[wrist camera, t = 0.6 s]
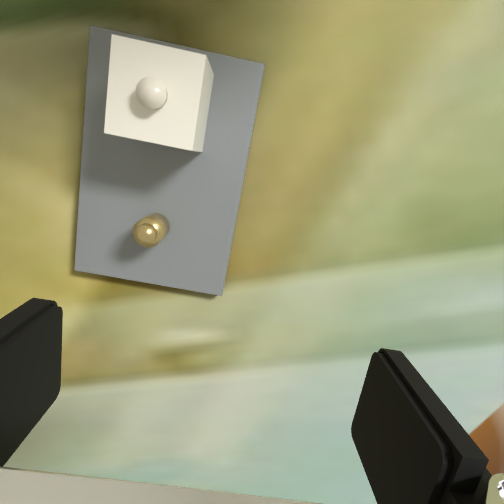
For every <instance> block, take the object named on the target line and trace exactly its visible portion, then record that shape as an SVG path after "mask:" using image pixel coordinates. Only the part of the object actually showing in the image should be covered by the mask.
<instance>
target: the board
mask: <svg viewBox="0 0 504 504" xmlns="http://www.w3.org/2000/svg"><path fill="white" fill-rule="evenodd" d="M112 34H113V35H118V36H123V37H127V38H132V39H136V40H141V41H145V42H150V43H154V44H159V45H163V46H168V47H172V48H177V49H181V50H186V51H191V52H195V53H200V54H204V55H206V56H207V58H208V61H209V63H210V66H211V68H212V71H213V73H214V78H213V85H212V91H211V98H210V104H209V111H208V118H207V124H206V131H205V137H204V144H203V151H202V152H197V151H190V150H185V149H180V148H175V147H171V146H166V145H161V144H156V143H151V142H146V141H141V140H136V139H131V138H126V137H121V136H116V135H111V134H106V133H104V126H105V113H106V100H107V87H108V75H109V62H110V49H111V36H112ZM264 67H265V64H263V63H259V62H254V61H250V60H245V59H240V58H236V57H231V56H227V55H222V54H218V53H213V52H209V51H204V50H200V49H195V48H191V47H186V46H182V45H177V44H173V43H168V42H164V41H159V40H155V39H150V38H146V37H141V36H137V35H132V34H128V33H123V32H119V31H114V30H109V29H105V28H100V27H96V26H91V25H90V32H89V48H88V64H87V79H86V95H85V111H84V127H83V142H82V158H81V174H80V190H79V205H78V221H77V237H76V253H75V268H74V270H76V271H82V272H87V273H93V274H99V275H105V276H110V277H116V278H122V279H127V280H133V281H139V282H145V283H150V284H156V285H162V286H168V287H173V288H179V289H185V290H190V291H196V292H202V293H208V294H213V295H219V296H222V294H223V288H224V283H225V278H226V272H227V267H228V261H229V256H230V251H231V245H232V240H233V234H234V229H235V224H236V218H237V213H238V208H239V202H240V197H241V191H242V186H243V181H244V175H245V170H246V164H247V159H248V154H249V148H250V143H251V137H252V132H253V127H254V121H255V116H256V110H257V105H258V100H259V94H260V89H261V83H262V78H263V73H264ZM152 213H159V214H162V215H163V216H165V217H166V218H167V220H168V221H169V224H170V230H169V233H168V234H167V235H166V236H165V237H164V238H163V239H162V240H161V241H160V242H159V243H158V244H157V245H156V246H154V247H143V246H141V245H139V244H138V243H137V242H136V241H135V240H134V238H133V234H132V230H133V227H134V225H135V223H136V222H138V221H139V220H141V219H142V218H144V217H146V216H148V215H149V214H152Z"/></svg>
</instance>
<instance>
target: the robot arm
mask: <svg viewBox="0 0 504 504" xmlns="http://www.w3.org/2000/svg"><path fill="white" fill-rule="evenodd" d="M62 316H63V311H62V308H61V307H58V306H57V303H56V302H55V301H51V300H45V299H38V298H32V299H30V300H29V301H27V302H26V303H24V304H23V305H21V306H20V307H18V308H16V309H15V310H13V311H12V312H10V313H9V314H7V315H6V316H4V317H3V318H1V319H0V504H322V503H314V502H305V501H297V500H288V499H280V498H271V497H263V496H254V495H246V494H237V493H229V492H220V491H212V490H203V489H194V488H186V487H177V486H168V485H160V484H151V483H142V482H133V481H125V480H116V479H107V478H98V477H90V476H81V475H72V474H63V473H54V472H45V471H35V470H26V469H17V468H8V467H3V466H4V464H5V463H6V462H7V461H8V459H9V458H10V457H11V456H12V454H13V453H14V452H15V450H16V449H17V448H18V447H19V445H20V444H21V443H22V442H23V440H24V439H25V438H26V437H27V435H28V434H29V433H30V431H31V430H32V429H33V428H34V426H35V425H36V424H37V423H38V421H39V420H40V419H41V418H42V416H43V415H44V414H45V412H46V411H47V410H48V409H49V407H50V406H51V405H52V404H53V402H54V401H55V400H56V398H57V396H58V394H59V391H60V386H61V352H62ZM351 433H352V438H353V441H354V443H355V446H356V449H357V451H358V454H359V456H360V459H361V462H362V464H363V467H364V470H365V472H366V475H367V478H368V480H369V483H370V485H371V488H372V491H373V493H374V496H375V499H376V501H377V504H504V474H495V475H493V476H492V475H491V474H490V473H489V471H488V470H487V469H486V466H487V463H488V461H489V460H488V458H487V457H486V456H485V455H484V453H483V452H482V451H481V450H480V449H479V447H478V446H477V445H476V444H475V442H474V441H473V440H472V439H471V437H470V436H469V435H468V434H467V432H466V431H465V430H464V429H463V427H462V426H461V425H460V424H459V422H458V421H457V420H456V419H455V417H454V416H453V415H452V414H451V412H450V411H449V410H448V409H447V407H446V406H445V405H444V404H443V403H442V401H441V400H440V399H439V398H438V396H437V395H436V394H435V393H434V391H433V390H432V389H431V388H430V386H429V385H428V384H427V383H426V381H425V380H424V379H423V378H422V376H421V375H420V374H419V373H418V371H417V370H416V369H415V368H414V366H413V365H412V364H411V363H410V362H409V360H408V359H407V358H406V357H405V355H404V354H403V353H402V352H401V351H396V350H389V349H383V348H381V349H380V350H379V351H378V353H377V352H375V353H373V355H372V357H371V361H370V364H369V367H368V371H367V374H366V378H365V381H364V385H363V388H362V391H361V395H360V398H359V402H358V405H357V409H356V412H355V415H354V419H353V422H352V428H351Z"/></svg>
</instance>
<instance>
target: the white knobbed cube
mask: <svg viewBox="0 0 504 504" xmlns="http://www.w3.org/2000/svg"><path fill="white" fill-rule="evenodd" d="M213 78H214V73H213V71H212V68H211V66H210V63H209V61H208V58H207V56H206V55H204V54H200V53H195V52H191V51H186V50H181V49H177V48H172V47H168V46H163V45H159V44H154V43H150V42H145V41H141V40H136V39H132V38H127V37H123V36H118V35H113V34H112V36H111V49H110V62H109V75H108V87H107V100H106V113H105V126H104V133H106V134H111V135H116V136H121V137H126V138H131V139H136V140H141V141H146V142H151V143H156V144H161V145H166V146H171V147H175V148H180V149H185V150H190V151H197V152H202V151H203V144H204V137H205V131H206V124H207V118H208V111H209V104H210V98H211V91H212V85H213Z"/></svg>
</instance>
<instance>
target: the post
mask: <svg viewBox="0 0 504 504" xmlns="http://www.w3.org/2000/svg"><path fill="white" fill-rule="evenodd" d="M169 230H170V224H169V221H168V220H167V218H166V217H165V216H163V215H162V214H159V213H152V214H149V215H148V216H146V217H144V218H142V219H141V220H139V221H138V222H136V223H135V225H134V227H133V230H132V234H133V238H134V240H135V241H136V242H137V243H138V244H139V245H141V246H143V247H154V246H156V245H157V244H158V243H159V242H160V241H161V240H162V239H163V238H164V237H165V236H166V235H167V234H168V233H169Z"/></svg>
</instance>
